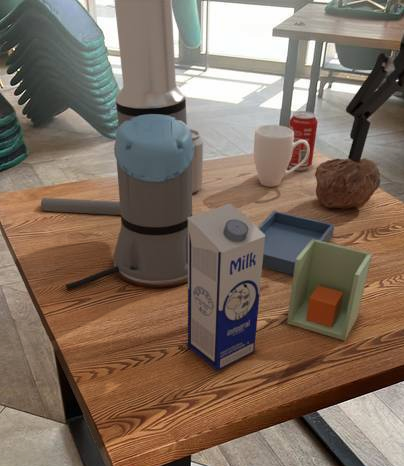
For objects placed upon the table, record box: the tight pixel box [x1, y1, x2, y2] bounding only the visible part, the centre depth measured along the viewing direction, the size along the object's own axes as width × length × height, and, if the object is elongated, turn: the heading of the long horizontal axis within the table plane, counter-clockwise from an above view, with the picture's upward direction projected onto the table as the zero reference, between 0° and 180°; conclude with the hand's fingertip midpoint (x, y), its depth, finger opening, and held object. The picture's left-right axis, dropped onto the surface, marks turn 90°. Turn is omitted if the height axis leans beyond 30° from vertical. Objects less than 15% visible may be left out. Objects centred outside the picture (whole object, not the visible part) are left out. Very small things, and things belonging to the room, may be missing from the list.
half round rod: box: [40, 197, 121, 216], centre depth 116 cm, size 4×20×2 cm, turn 85°
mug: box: [253, 124, 310, 188], centre depth 125 cm, size 12×8×11 cm
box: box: [286, 239, 373, 341], centre depth 84 cm, size 7×9×11 cm
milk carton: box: [187, 203, 266, 372], centre depth 75 cm, size 7×7×20 cm
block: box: [306, 285, 344, 327], centre depth 85 cm, size 4×4×4 cm
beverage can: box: [287, 110, 319, 172], centre depth 133 cm, size 6×6×12 cm
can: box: [189, 128, 204, 194], centre depth 121 cm, size 8×8×12 cm
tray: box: [256, 210, 335, 276], centre depth 104 cm, size 17×12×2 cm
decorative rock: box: [314, 157, 381, 210], centre depth 117 cm, size 13×11×10 cm
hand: (391, 164), depth 91 cm, fingers open, 13 cm apart
